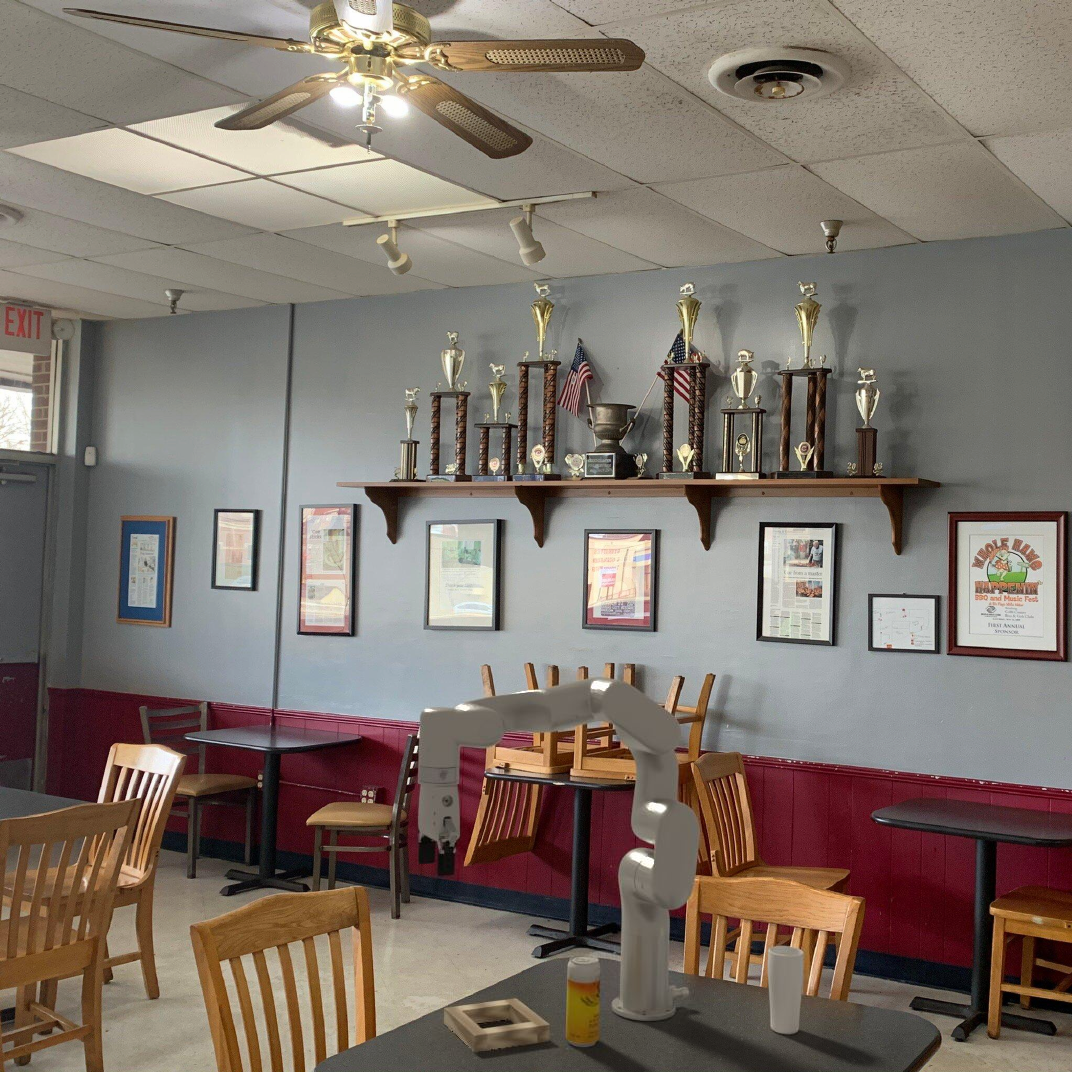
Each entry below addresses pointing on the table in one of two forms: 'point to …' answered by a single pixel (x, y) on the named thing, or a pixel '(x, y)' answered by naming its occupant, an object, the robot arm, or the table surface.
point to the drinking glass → (785, 987)
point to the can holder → (520, 1033)
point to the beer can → (583, 1000)
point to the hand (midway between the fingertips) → (435, 869)
